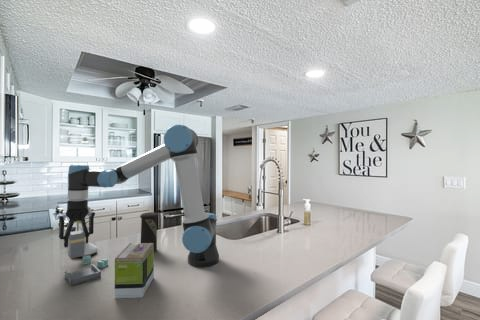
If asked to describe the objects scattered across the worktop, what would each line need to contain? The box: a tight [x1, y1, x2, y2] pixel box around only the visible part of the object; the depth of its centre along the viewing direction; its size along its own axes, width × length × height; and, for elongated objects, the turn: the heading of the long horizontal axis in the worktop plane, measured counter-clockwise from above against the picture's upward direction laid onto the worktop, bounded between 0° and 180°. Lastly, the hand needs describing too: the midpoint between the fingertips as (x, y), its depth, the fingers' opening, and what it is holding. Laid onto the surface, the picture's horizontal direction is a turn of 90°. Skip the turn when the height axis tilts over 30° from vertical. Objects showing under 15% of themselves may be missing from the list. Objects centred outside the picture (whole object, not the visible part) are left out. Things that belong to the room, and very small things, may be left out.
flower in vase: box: [74, 206, 98, 257], centre depth 123 cm, size 13×11×25 cm
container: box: [139, 211, 159, 253], centre depth 130 cm, size 9×9×20 cm
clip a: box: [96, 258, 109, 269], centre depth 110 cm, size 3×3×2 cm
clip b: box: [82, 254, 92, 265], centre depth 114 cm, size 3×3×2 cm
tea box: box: [114, 242, 155, 299], centre depth 93 cm, size 15×10×15 cm, turn 5°
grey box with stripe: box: [67, 229, 85, 259], centre depth 107 cm, size 5×5×10 cm
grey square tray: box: [64, 263, 102, 287], centre depth 100 cm, size 11×10×2 cm
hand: (76, 252), depth 107 cm, fingers closed on grey box with stripe, 5 cm apart
